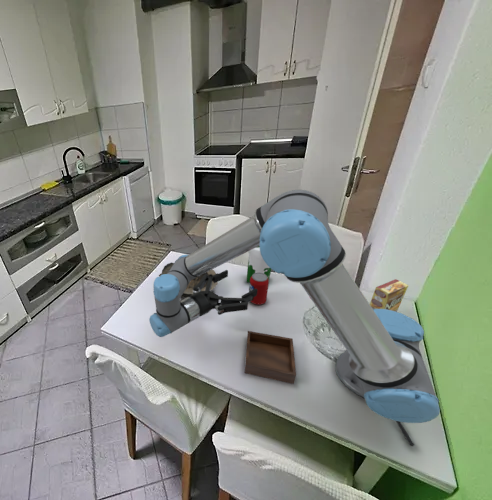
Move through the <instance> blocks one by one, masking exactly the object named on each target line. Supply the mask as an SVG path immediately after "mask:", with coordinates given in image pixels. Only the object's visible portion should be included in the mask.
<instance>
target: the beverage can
mask: <svg viewBox="0 0 492 500" xmlns="http://www.w3.org/2000/svg"><path fill="white" fill-rule="evenodd" d="M269 280H270V279H269ZM269 280H268V278H267V276H266V275H265V274H264V273H254V274H253V275H252V276H251V278H250V283H249V285H248V286H249V287H248V292H250V291H252V290H253V289H255V288H256V289H258V290H257V296H255V297H253V298H252V301H250V302H249V303H252V304H254V305H263V304H265V303H266V302H267V299H268V293H269V292H268V291H269V283H270V281H269Z"/></svg>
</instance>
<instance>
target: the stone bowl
mask: <svg viewBox="0 0 492 500" xmlns="http://www.w3.org/2000/svg"><path fill="white" fill-rule="evenodd" d="M174 263H175V262H169V263H167V264H166V265H164V266H163V268H162V270H161V273H159V274H158V277H160V276H161V275H163V274H167V273H168V272H169V270H170V269H171V267H172V266H173V264H174ZM205 274H207V275H208V276H209V274H212V276H213V275H215V274H217V273H216V271H215V270H214V269H212V270H210V271H208V272H206V273H204V274H202V275H200V276H198V277H196V278H194V279H192V280H191V281H190V283H189V284H188V286H187V288H186V289H185V291H184V293H183V295H182V296H181V298H183V299H184V298H186V297H189V296H190V295H192V294H193V287H195V286H196V285H197V284H198V283H199V282H200V280H201V279H202V278H203V276H204V275H205ZM218 282H219V281H218ZM218 282H216V283H214V282H213V281H212V286H211V290H210V291H213V290H214V289H215V288H216V287H217V286H218V285H219V283H218ZM207 283H208V281H207V282H206V284H205V285H204V287H203V288H202V289H201V291H205V289H206V287H207Z"/></svg>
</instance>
